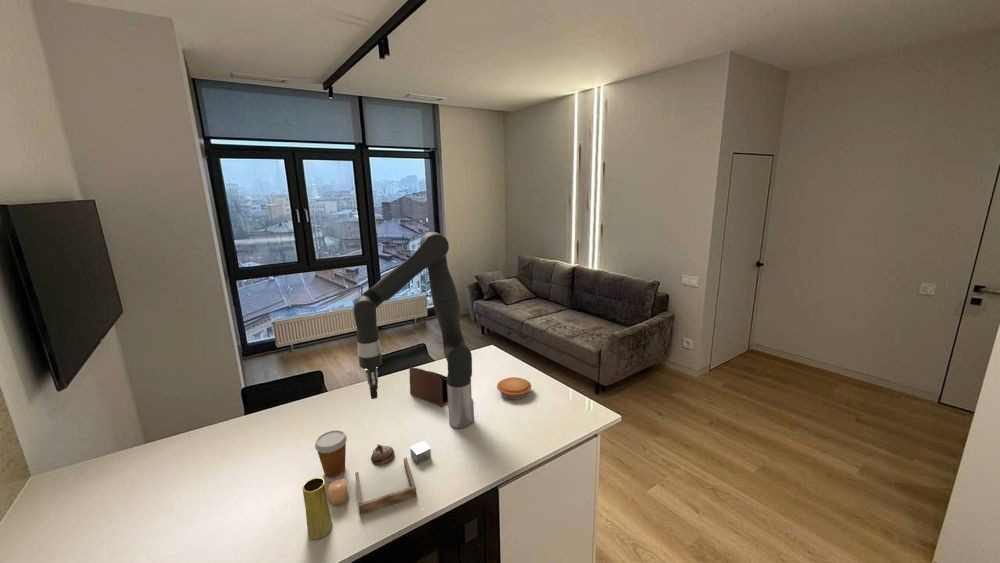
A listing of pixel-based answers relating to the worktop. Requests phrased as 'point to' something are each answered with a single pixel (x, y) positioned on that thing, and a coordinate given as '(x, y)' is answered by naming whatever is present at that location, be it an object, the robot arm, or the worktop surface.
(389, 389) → the worktop surface
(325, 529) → the vase
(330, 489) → the peach rounded blob
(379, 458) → the pastry
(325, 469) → the disposable coffee cup
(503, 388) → the pie
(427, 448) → the gray block
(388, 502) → the display bay
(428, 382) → the letter holder
